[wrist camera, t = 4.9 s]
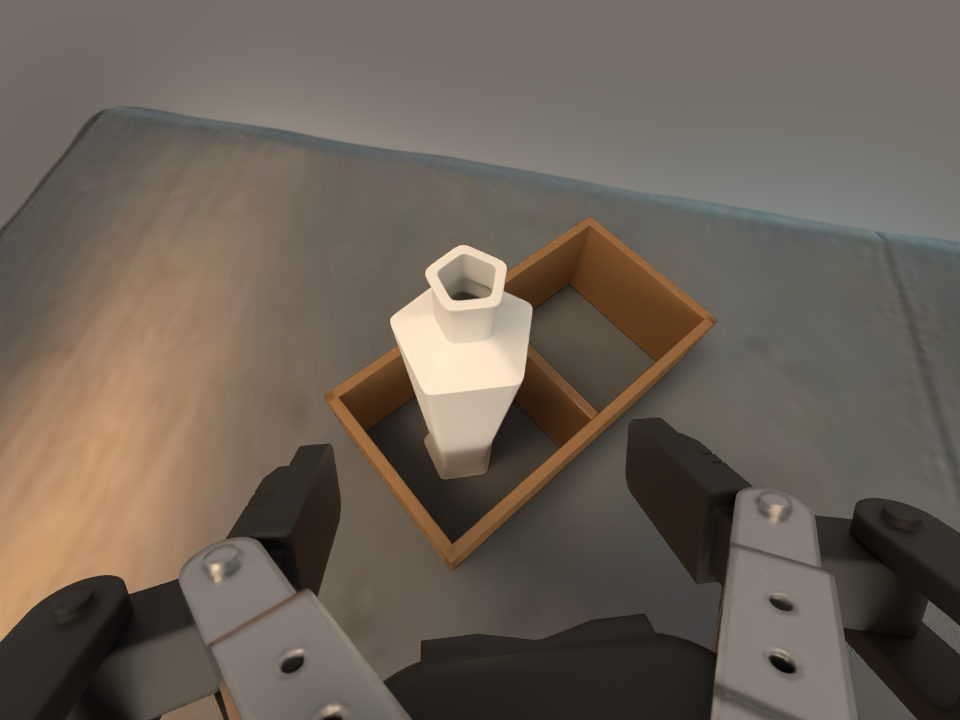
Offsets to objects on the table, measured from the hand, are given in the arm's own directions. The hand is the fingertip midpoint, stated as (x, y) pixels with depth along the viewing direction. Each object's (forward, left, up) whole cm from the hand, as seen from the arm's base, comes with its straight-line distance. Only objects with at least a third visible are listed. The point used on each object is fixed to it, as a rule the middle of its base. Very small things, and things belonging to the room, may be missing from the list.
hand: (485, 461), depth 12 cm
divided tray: (-7, -3, -12) cm, 15 cm away
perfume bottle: (-2, -3, -13) cm, 13 cm away
